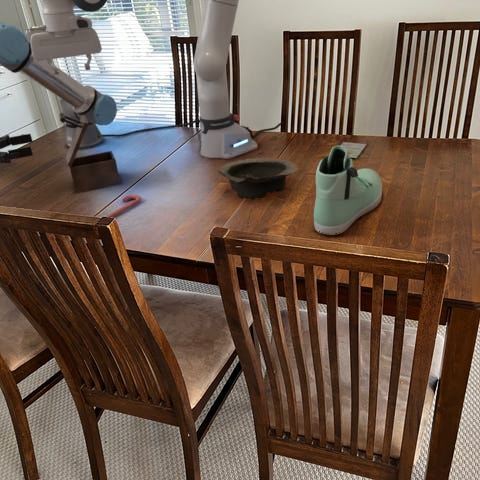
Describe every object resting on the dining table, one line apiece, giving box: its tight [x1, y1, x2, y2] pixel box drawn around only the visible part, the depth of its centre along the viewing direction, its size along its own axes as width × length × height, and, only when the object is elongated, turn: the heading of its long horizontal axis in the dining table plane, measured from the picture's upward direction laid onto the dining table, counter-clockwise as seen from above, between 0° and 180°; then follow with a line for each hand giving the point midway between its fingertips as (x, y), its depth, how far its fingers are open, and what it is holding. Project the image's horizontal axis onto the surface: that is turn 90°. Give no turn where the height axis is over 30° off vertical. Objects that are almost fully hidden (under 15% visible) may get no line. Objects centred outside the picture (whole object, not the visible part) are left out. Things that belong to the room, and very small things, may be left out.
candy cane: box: [106, 194, 142, 218], centre depth 149 cm, size 6×15×2 cm, turn 145°
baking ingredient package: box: [340, 141, 367, 159], centre depth 177 cm, size 9×1×15 cm
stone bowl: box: [217, 157, 299, 201], centre depth 152 cm, size 25×25×9 cm
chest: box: [69, 150, 121, 194], centre depth 165 cm, size 15×10×9 cm, turn 111°
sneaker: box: [313, 145, 383, 236], centre depth 133 cm, size 14×35×20 cm, turn 152°
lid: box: [58, 112, 88, 168], centre depth 157 cm, size 16×10×8 cm
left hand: (31, 144), depth 154 cm, fingers open, 13 cm apart
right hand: (72, 71), depth 148 cm, fingers open, 8 cm apart
